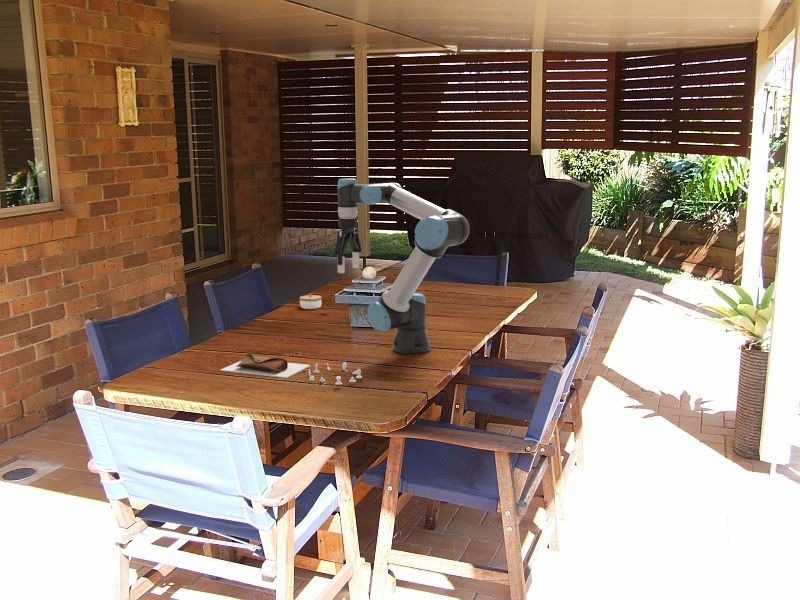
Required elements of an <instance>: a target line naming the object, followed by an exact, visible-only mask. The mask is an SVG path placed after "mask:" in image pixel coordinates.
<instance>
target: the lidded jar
mask: <svg viewBox="0 0 800 600" xmlns="http://www.w3.org/2000/svg"><path fill="white" fill-rule="evenodd" d="M299 304H300V308H301V309H304V310H315V309H319V308H321V307H322V296H320V295H315V294H314V295H313V294H312V293H309V294H307V295H302V296H301V295H300V296H299Z"/></svg>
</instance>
